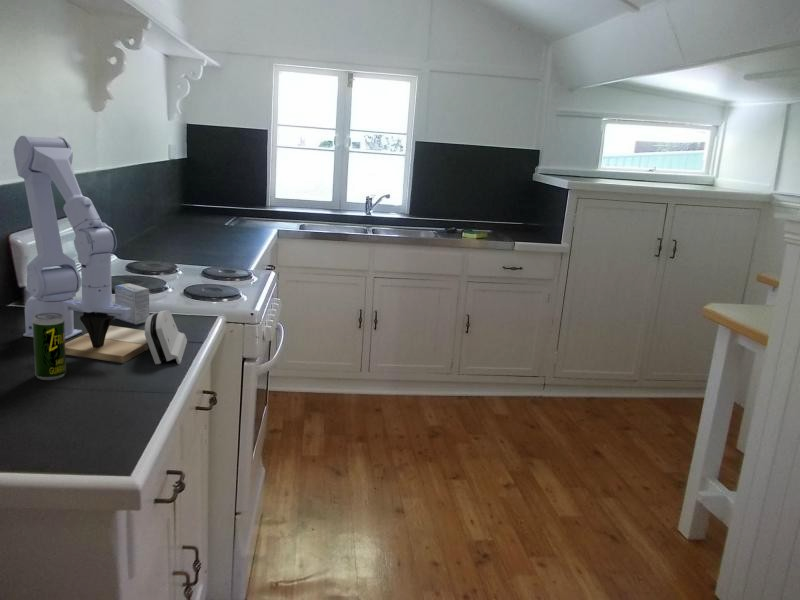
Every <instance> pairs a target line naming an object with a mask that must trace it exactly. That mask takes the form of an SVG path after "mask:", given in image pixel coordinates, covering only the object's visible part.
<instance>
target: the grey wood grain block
mask: <svg viewBox="0 0 800 600" xmlns="http://www.w3.org/2000/svg"><path fill="white" fill-rule="evenodd" d="M114 302H115V303H114V304H117V305H120V306H124V307H128V308H131V317H129V318H127V319H124V318H122V317H117V316H115V319H117V320H120V321H123V322H126V323H129V324H133V325H140V324H145V323H146V320H147V318H148V316H150V315H151V314H150V289H149V288H146V287H144V286H141V285H137V284H133V283H122V284H118V285H115V286H114Z"/></svg>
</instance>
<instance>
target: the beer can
mask: <svg viewBox="0 0 800 600" xmlns="http://www.w3.org/2000/svg"><path fill="white" fill-rule="evenodd" d="M32 338H33V339H32V340H33V357H34V360H33V361H34V375H35V376H36V378H37V379H38V380H40V381H41V380H43V381H53V380H58V379H61V378H63V377H65V375H66V373H67V364H66V363H67V362H66V361H67V360H66V357H67V356H66V354H65V343H66V339H65V328H64V319H63V315H62V314H59V313H41V314H37V315H35V316H34V320H33V337H32Z"/></svg>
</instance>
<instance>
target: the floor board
mask: <svg viewBox="0 0 800 600" xmlns="http://www.w3.org/2000/svg"><path fill="white" fill-rule="evenodd" d="M82 336H87V337H90V336H89V334H88V332H87V333H84V334H82ZM105 339H108V340H115V341H122V342H129V343H136V344H143V345H144V352H145V351H148V350H150V348H149V345H148V343H147V340H146V337H145V329H138V328H137V329H136V328H130V327H123V326H116V325H110V326H109V328H108V330H107V333H106V337H105Z"/></svg>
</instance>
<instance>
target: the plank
mask: <svg viewBox="0 0 800 600" xmlns="http://www.w3.org/2000/svg"><path fill="white" fill-rule="evenodd" d="M144 352H145V351H144V345H143V344H136V343H129V342H122V341H115V340H108V339H105V341H104V345H103V346H101V347H99V348H95V347H93V346H92V342H91V339H90V337H87V336H83V335H80V336H78V337H76V338H74V339H72V340H70V341H66V342H65V355H66V356H67V355H69V356H75V357H81V358H86V359H87V358H89V359H95V360H102V361H109V362H115V363H121V364H124V363H126V362H128V361H130V360H131V359H133V358H135V357H136V356H139V355H140V354H142V353H144Z"/></svg>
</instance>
